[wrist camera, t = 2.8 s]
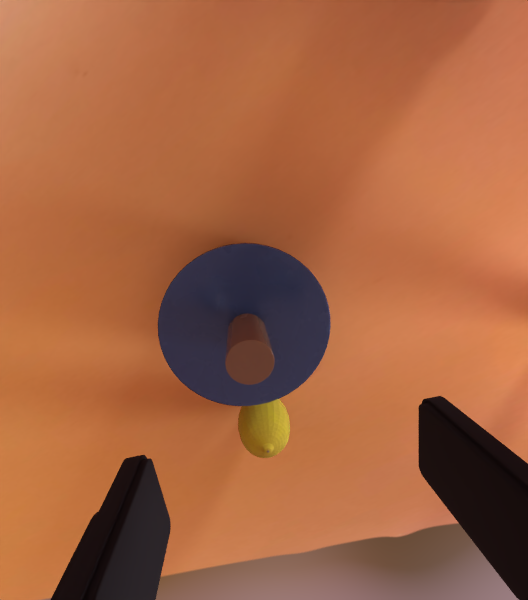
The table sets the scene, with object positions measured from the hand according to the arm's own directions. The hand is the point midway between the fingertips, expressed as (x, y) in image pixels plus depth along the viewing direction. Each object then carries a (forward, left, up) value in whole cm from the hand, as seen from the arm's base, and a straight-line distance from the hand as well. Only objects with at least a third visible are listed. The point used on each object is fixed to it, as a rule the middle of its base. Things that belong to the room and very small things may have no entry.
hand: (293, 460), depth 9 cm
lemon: (+11, -6, -22) cm, 25 cm away
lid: (-1, -1, -12) cm, 12 cm away
